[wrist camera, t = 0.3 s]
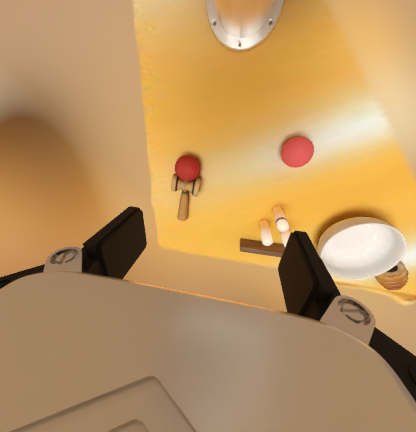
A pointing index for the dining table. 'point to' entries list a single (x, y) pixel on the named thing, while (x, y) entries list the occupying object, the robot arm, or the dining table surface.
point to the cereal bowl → (361, 247)
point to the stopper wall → (261, 248)
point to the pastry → (394, 277)
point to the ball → (297, 151)
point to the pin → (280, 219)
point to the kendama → (186, 182)
